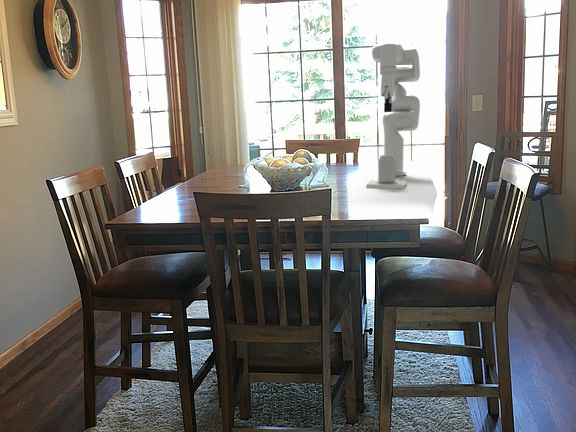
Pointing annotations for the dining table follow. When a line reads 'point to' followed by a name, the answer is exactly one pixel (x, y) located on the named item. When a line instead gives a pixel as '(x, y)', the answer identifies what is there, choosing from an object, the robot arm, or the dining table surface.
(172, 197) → the dining table surface
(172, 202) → the dining table surface
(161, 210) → the dining table surface
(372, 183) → the tile
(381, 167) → the can
